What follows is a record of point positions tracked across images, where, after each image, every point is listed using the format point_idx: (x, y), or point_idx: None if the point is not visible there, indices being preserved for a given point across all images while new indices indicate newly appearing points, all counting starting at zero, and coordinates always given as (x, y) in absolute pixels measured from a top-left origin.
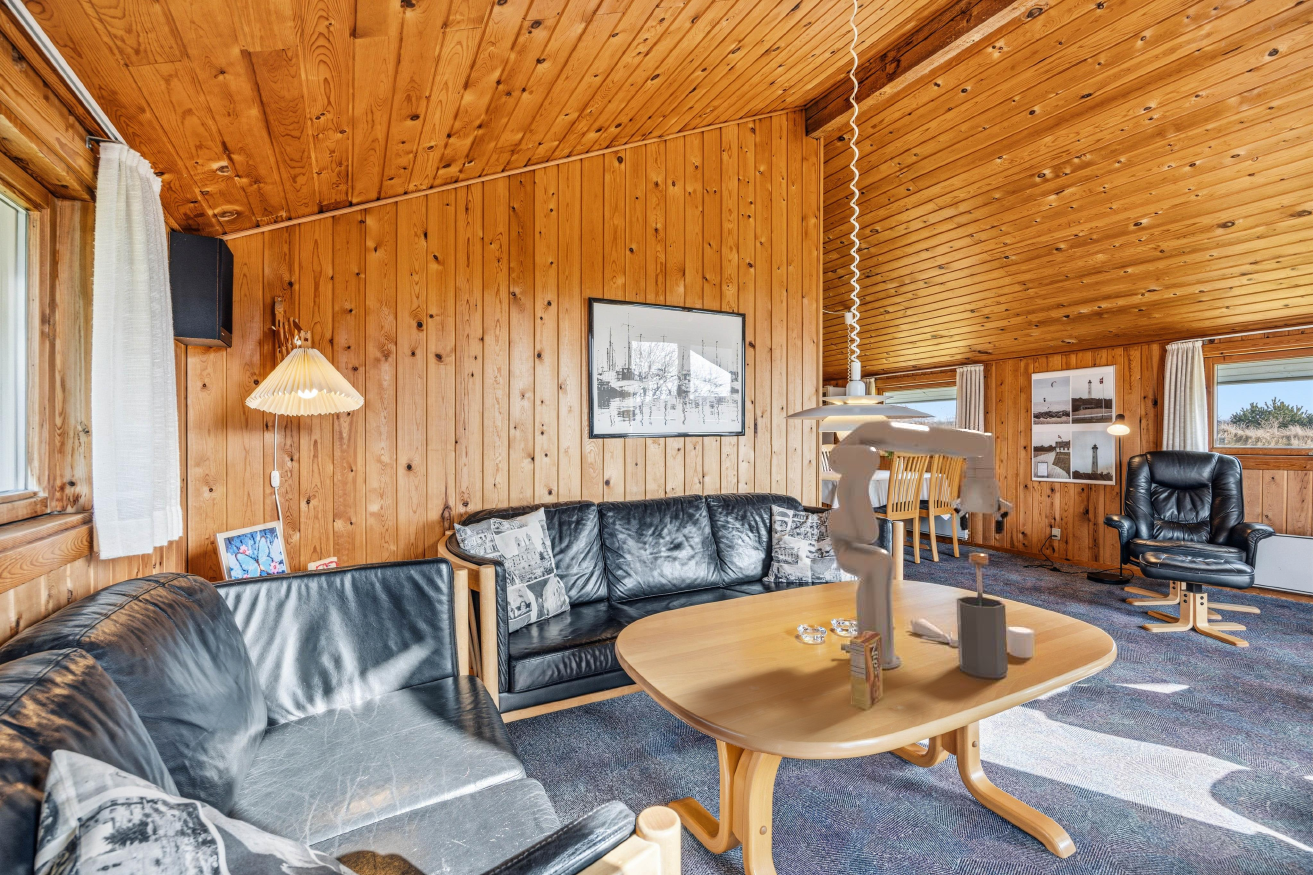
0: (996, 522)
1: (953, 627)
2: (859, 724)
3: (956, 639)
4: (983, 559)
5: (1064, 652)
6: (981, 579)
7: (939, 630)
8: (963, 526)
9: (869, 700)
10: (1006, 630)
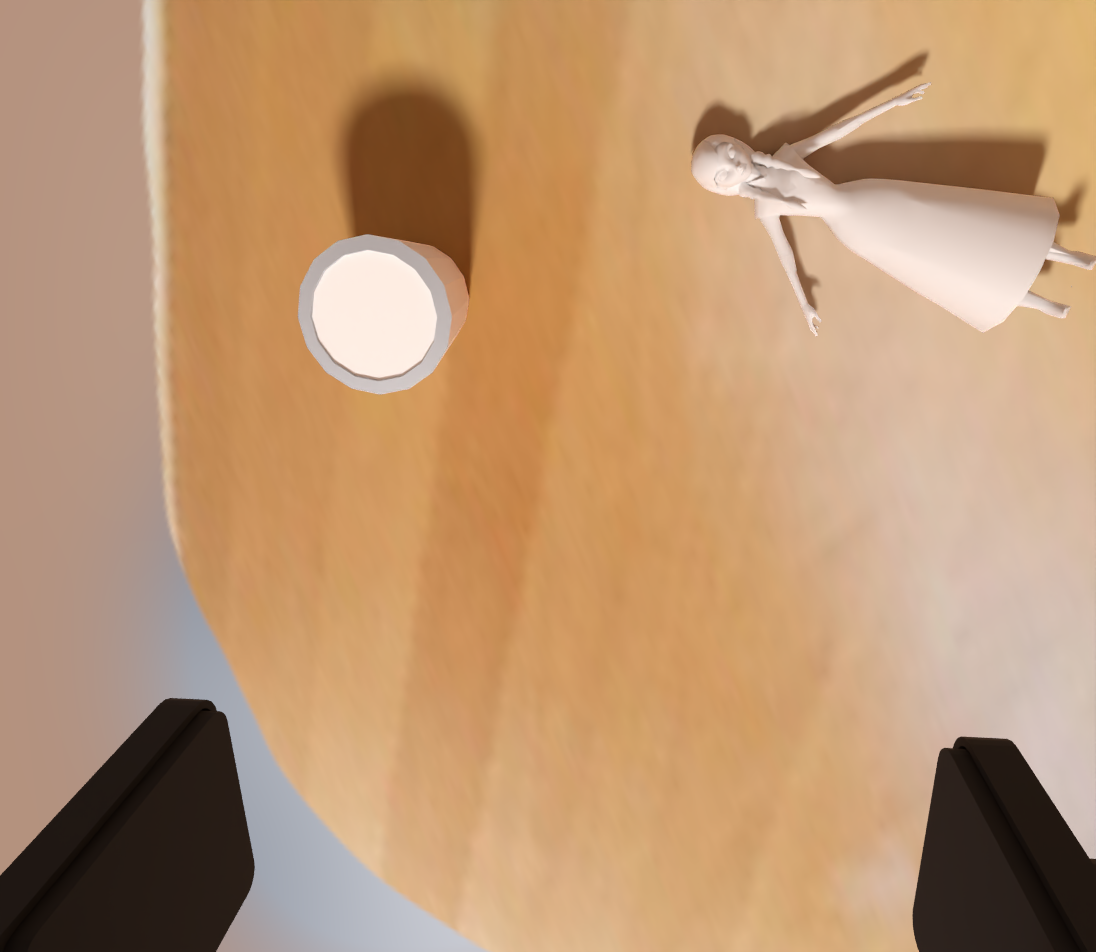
0: (13, 897)
1: (865, 493)
2: None
3: (713, 150)
4: None
5: (298, 479)
6: None
7: (862, 230)
8: (987, 810)
9: None
10: (438, 273)
